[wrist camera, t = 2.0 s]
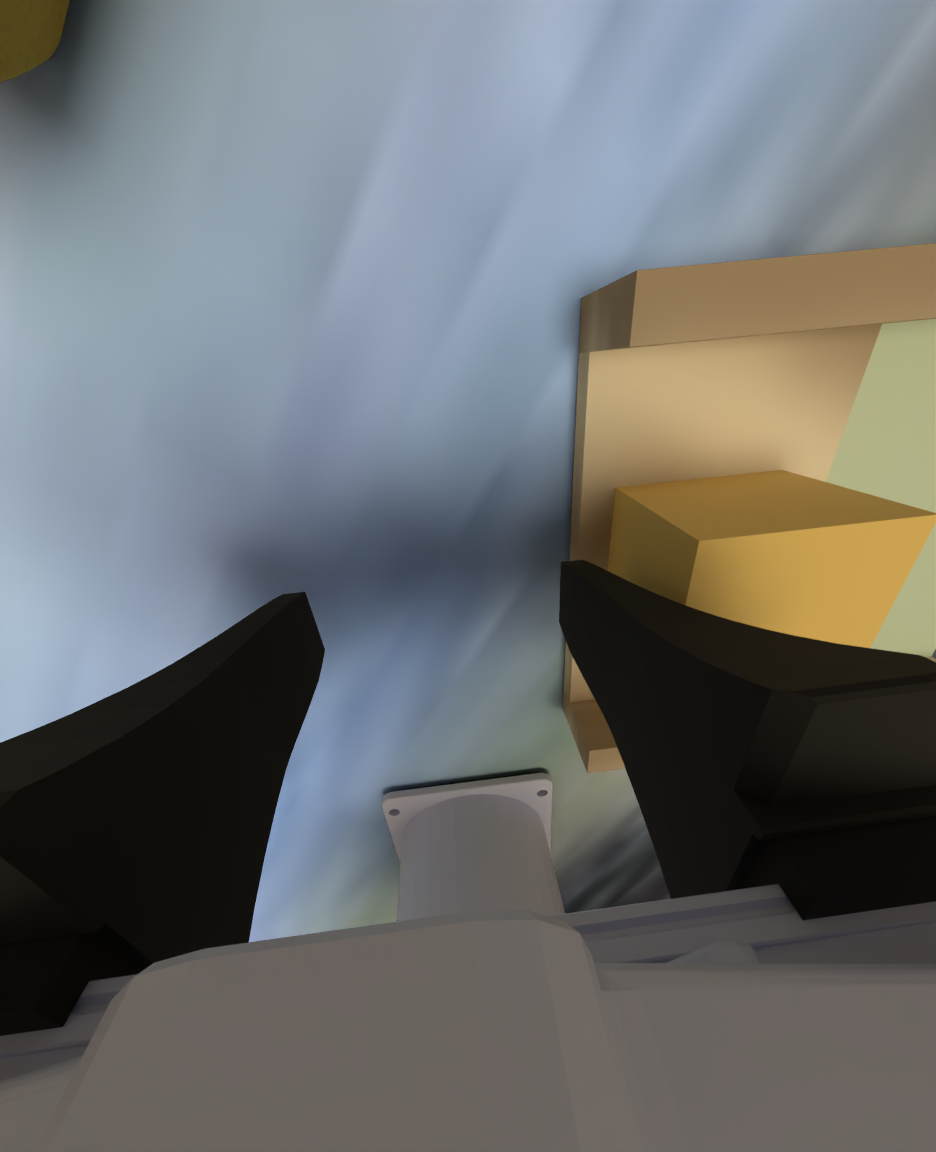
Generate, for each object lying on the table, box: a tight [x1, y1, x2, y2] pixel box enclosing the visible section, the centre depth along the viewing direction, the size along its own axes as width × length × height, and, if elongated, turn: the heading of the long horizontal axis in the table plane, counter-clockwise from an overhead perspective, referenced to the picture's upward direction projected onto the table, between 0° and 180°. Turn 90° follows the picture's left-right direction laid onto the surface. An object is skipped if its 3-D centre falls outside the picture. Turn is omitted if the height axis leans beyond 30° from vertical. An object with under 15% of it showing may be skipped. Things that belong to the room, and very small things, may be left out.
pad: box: [826, 319, 936, 657], centre depth 13 cm, size 12×8×1 cm, turn 5°
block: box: [607, 470, 936, 648], centre depth 11 cm, size 5×5×4 cm
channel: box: [563, 243, 936, 773], centre depth 12 cm, size 14×15×3 cm
